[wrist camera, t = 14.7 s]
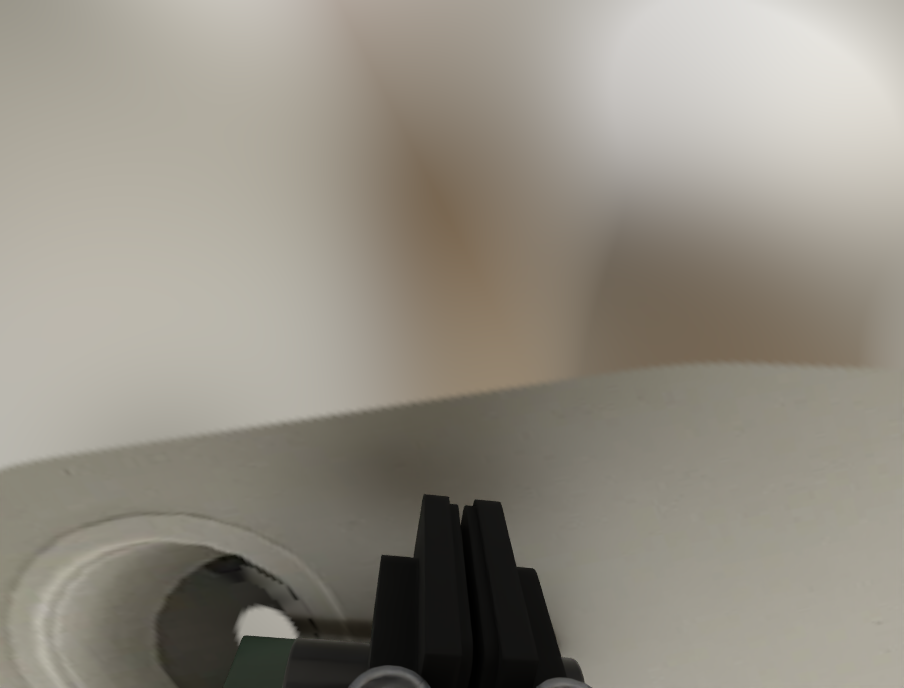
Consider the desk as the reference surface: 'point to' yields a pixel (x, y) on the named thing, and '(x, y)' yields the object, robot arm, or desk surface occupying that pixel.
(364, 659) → the drawer
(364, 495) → the desk surface
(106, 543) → the desk surface
